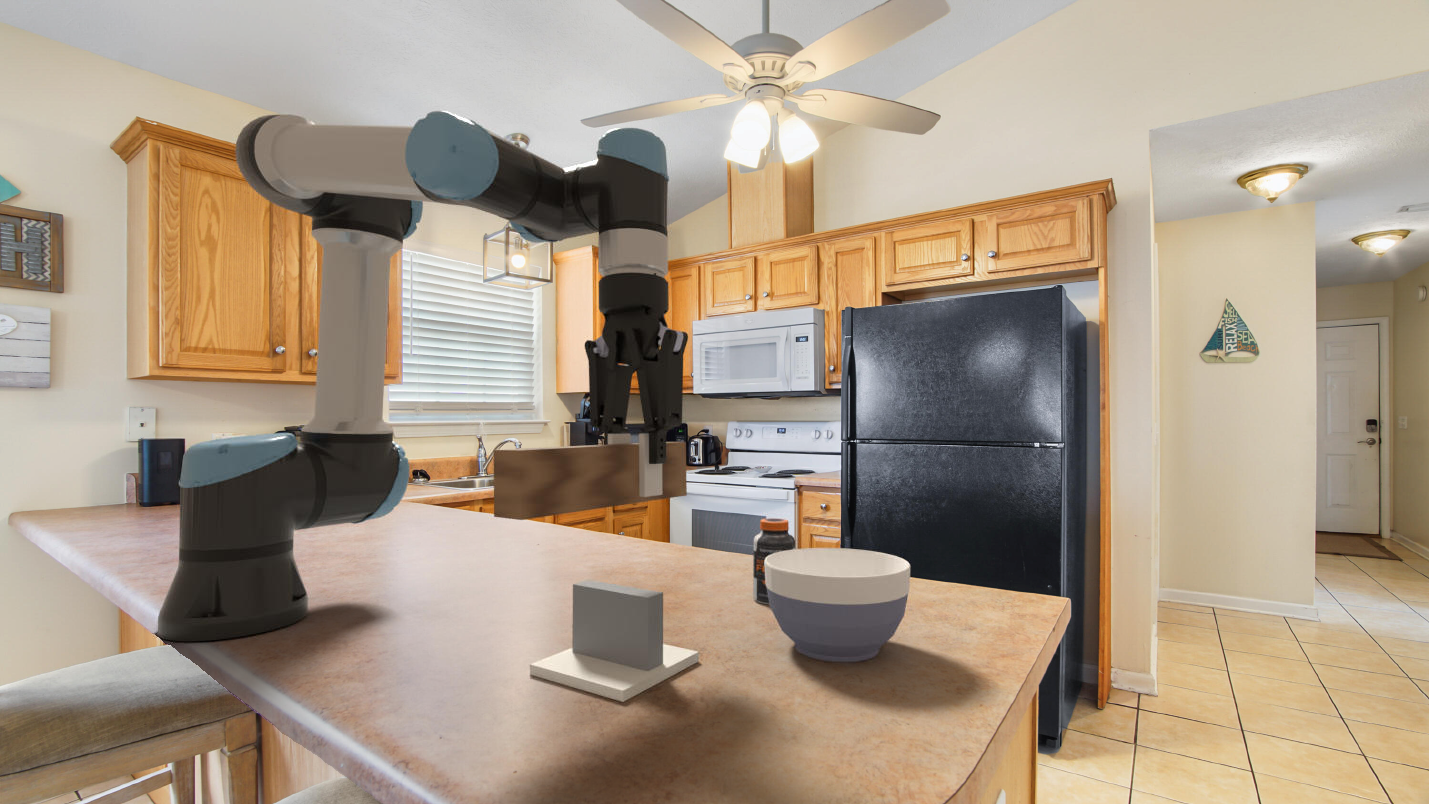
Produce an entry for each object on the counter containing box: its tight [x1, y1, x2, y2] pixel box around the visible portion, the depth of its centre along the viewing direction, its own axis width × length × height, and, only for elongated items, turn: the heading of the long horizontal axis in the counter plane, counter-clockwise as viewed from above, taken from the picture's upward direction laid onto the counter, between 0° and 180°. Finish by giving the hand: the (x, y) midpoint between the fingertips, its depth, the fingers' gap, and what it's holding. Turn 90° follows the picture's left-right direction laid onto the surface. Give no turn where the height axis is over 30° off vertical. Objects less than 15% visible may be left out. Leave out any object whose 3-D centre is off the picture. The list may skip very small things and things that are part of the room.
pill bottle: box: [752, 517, 796, 605], centre depth 93 cm, size 6×6×11 cm
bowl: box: [764, 547, 911, 663], centre depth 73 cm, size 16×16×10 cm
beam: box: [493, 441, 688, 521], centre depth 67 cm, size 22×4×6 cm, turn 142°
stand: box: [529, 579, 700, 703], centre depth 67 cm, size 12×12×8 cm
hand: (635, 493), depth 71 cm, fingers closed on beam, 4 cm apart
